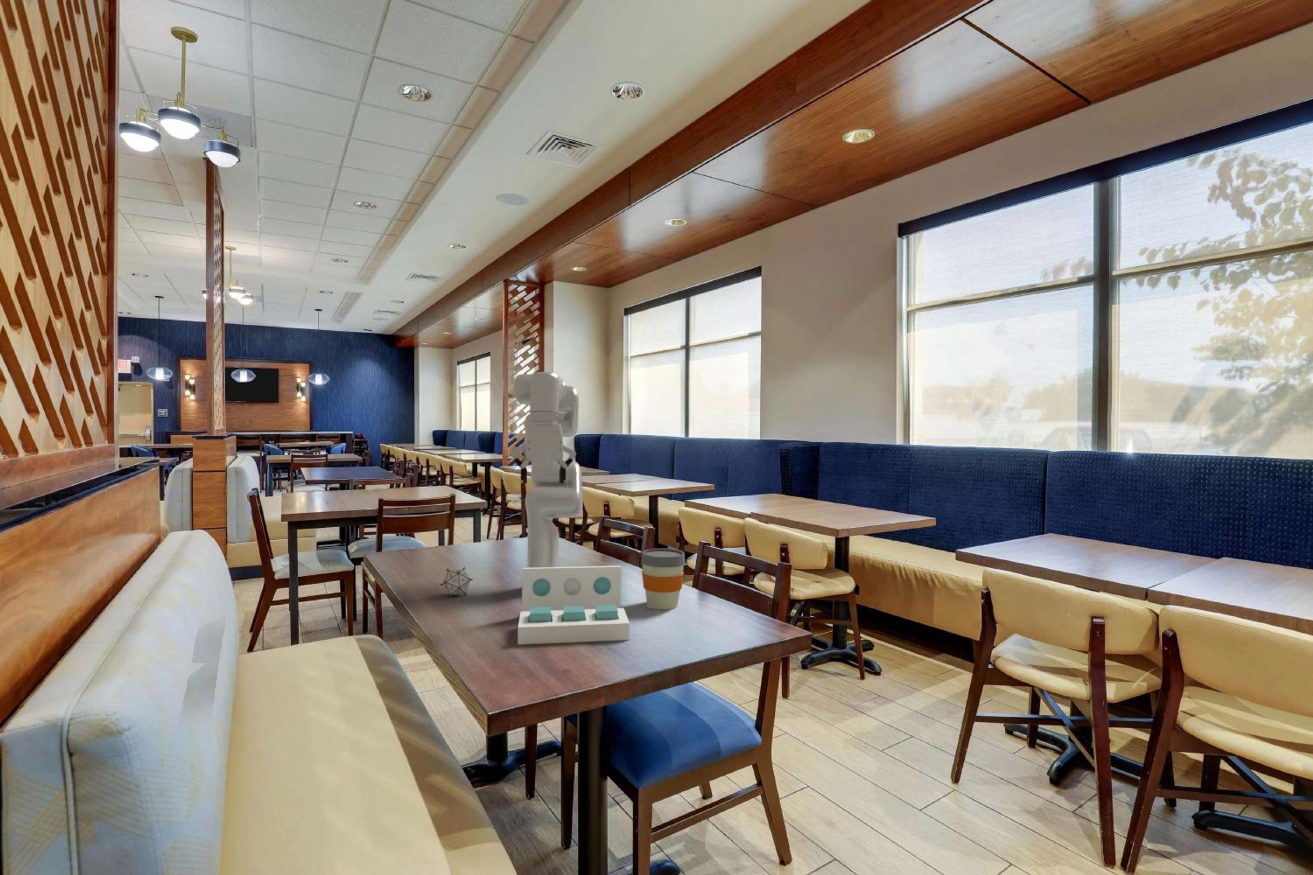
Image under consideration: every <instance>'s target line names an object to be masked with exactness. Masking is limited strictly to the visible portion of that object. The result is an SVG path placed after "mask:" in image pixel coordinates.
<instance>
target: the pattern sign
mask: <svg viewBox="0 0 1313 875" xmlns="http://www.w3.org/2000/svg"><path fill="white" fill-rule="evenodd" d="M521 574H522V575H521V576H522V581H521V582H522V584H521V612H523V611H530V607H551V611H553V610H563V606H584V609H596V605H616V607H617V608H621V596H622V595H621V593H622V591H621V590H622V587H621V585H622V566H621V565H596V566H595V565H594V566H588V565H587V566H559V567H538V568H527V567H522V572H521Z"/></svg>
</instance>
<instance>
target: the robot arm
mask: <svg viewBox="0 0 1313 875" xmlns="http://www.w3.org/2000/svg"><path fill="white" fill-rule="evenodd" d="M513 396H514V398H515V401H516V402H517V403H518V404H522V405H525V406H526V405H527V406H529V414H527V415H526V416H525V418H524V438H523V440H524V441H523V445H522V446H519V447H517V448H515V449H513V450H511V451H510V452H509V454H510V456H511V458H512V460H513V462H514V463H515V464H516V465H517V466H518V467H519V468H520V481H522V484H523V485H526V484H527V483H528V469H527V466H528V465H529V463H530V462H531V469H530V470H531V476H530V477H531V478H530V479H531V484H532V486H533V487H534V488H531V489H529V490H528V491H526V494H525V499H524V502H525V503H524V504H525V510H526V520H527V521H526V522H527V559H526V560H527V567H526V568H538V567H560V564H559V563H560V562H559V560H560V532H559V529H558V528H557V525H555V524H554V522H553V521H552V519H570V518H571V519H574V518H578V517H579V516H581V514H582V511H583V505H584V496H583V476H582V468H581V466H580V464H579V463H578V462H577V461H574V460H575V457H576V455H577V452H576V451H575V450H572V449H571V448H569V447H568V446H565V445H564V438H572V437H574V436H575V435H576V434H577V431H578V430H579V428H578V427H579V409H580V408H579V406H580V401H579V400H580V398H579V393H578V391H577V388H576V387H574V386H571V385H567V384H566V382H565V381H564V379H563V378H562V376H561V375H558V374H557V373H555V372H549V371H548V372H547V371H539V372H534V373H532V374H526V373H521V374H517V376H516V377H515V378H514V381H513ZM521 452H523V460H522V461H521V460H520V459H519V457H518V454H519V453H521ZM564 453H567V454H568V458H567V459H566V460H563V458H564Z"/></svg>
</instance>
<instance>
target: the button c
mask: <svg viewBox="0 0 1313 875" xmlns="http://www.w3.org/2000/svg"><path fill="white" fill-rule="evenodd" d="M595 619H596V620H616V619H618V610H617V607H616V605H596V614H595Z"/></svg>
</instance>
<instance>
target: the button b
mask: <svg viewBox="0 0 1313 875" xmlns="http://www.w3.org/2000/svg"><path fill="white" fill-rule="evenodd" d="M563 621H585V611H584V606H563Z"/></svg>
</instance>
